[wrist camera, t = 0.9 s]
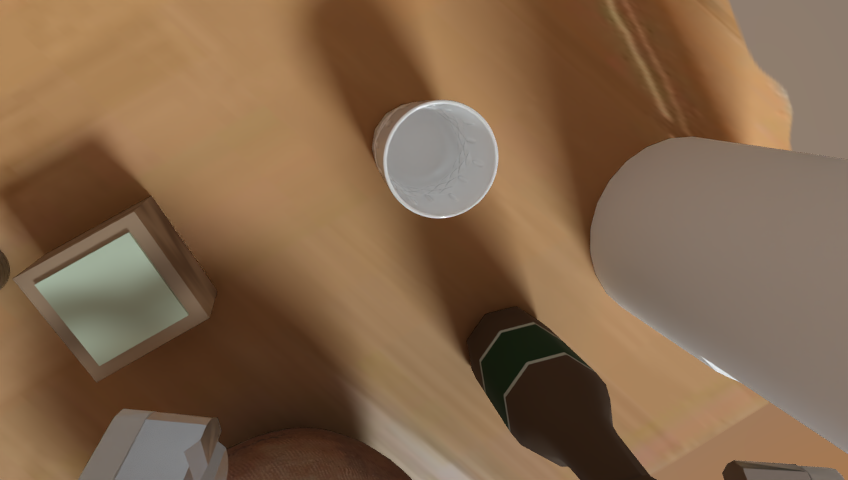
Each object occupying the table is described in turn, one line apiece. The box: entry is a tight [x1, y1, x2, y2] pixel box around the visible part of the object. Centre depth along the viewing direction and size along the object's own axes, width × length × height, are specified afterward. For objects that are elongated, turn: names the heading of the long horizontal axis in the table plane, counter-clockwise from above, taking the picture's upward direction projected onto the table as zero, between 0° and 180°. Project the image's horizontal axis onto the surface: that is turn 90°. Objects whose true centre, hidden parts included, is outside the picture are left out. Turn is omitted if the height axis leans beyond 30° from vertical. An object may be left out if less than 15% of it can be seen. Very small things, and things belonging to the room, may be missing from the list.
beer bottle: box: [467, 307, 656, 480], centre depth 47 cm, size 8×8×24 cm
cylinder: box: [590, 137, 848, 454], centre depth 46 cm, size 17×17×28 cm
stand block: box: [13, 196, 217, 382], centre depth 47 cm, size 9×9×6 cm
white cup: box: [372, 100, 498, 218], centre depth 47 cm, size 8×8×10 cm
